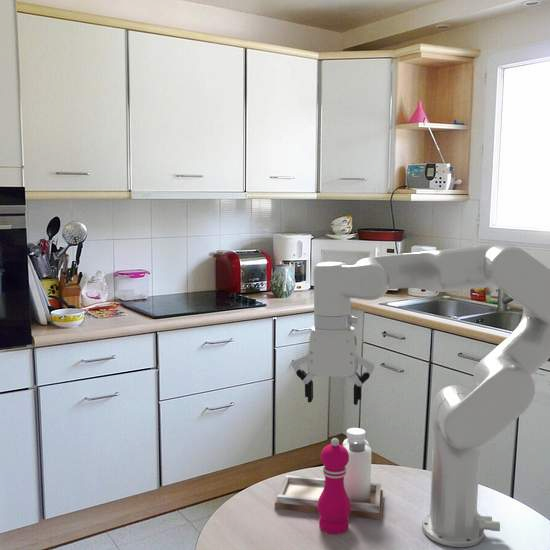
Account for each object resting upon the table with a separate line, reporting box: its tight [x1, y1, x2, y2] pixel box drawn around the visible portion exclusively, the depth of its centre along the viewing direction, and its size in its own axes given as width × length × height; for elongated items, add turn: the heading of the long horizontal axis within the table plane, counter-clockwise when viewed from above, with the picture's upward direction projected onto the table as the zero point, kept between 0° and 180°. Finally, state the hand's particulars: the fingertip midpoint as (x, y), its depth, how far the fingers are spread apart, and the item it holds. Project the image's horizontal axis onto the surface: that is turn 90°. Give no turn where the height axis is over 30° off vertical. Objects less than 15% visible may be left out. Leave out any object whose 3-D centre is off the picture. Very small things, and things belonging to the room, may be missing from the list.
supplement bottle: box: [342, 427, 370, 447], centre depth 157 cm, size 7×7×13 cm
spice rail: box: [274, 474, 384, 520], centre depth 146 cm, size 24×11×3 cm, turn 79°
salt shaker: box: [344, 439, 372, 503], centre depth 144 cm, size 7×7×14 cm
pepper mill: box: [317, 437, 351, 535], centre depth 134 cm, size 7×7×20 cm
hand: (333, 401), depth 132 cm, fingers open, 9 cm apart
